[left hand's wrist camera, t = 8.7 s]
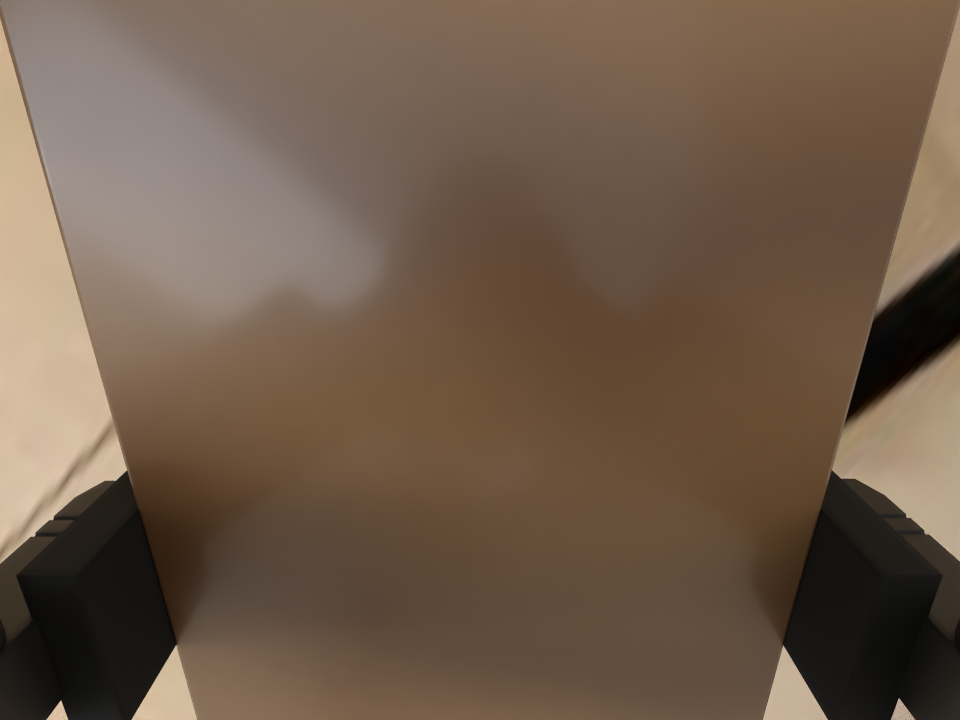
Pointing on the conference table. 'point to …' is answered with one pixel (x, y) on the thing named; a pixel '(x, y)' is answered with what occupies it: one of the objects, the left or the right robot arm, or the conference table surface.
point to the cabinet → (479, 328)
